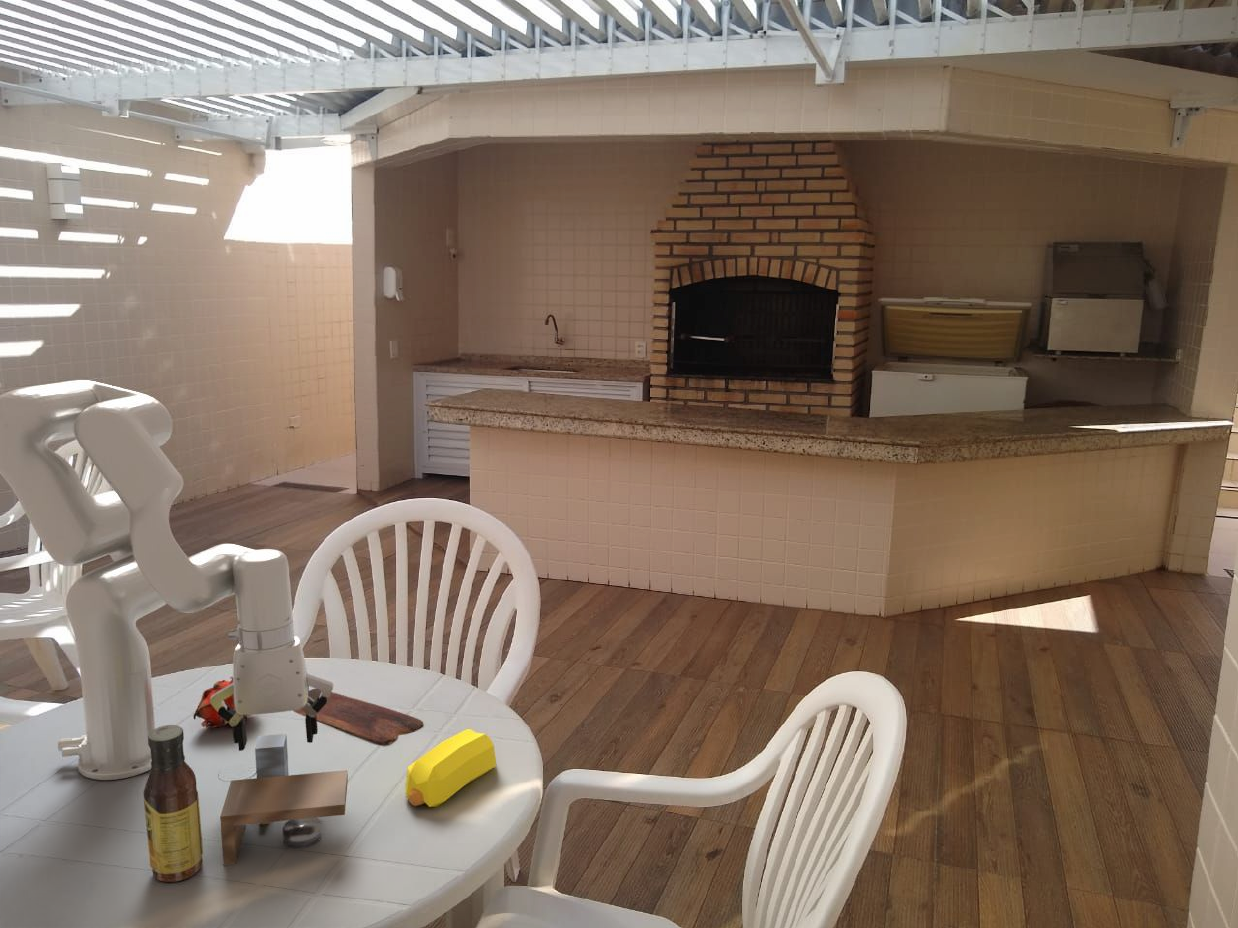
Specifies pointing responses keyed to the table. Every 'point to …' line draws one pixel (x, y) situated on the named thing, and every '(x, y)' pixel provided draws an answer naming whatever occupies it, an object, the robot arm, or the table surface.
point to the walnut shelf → (279, 803)
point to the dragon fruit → (208, 711)
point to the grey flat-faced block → (271, 756)
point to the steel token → (301, 832)
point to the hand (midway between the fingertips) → (277, 742)
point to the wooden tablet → (364, 718)
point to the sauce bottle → (172, 808)
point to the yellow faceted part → (449, 767)
